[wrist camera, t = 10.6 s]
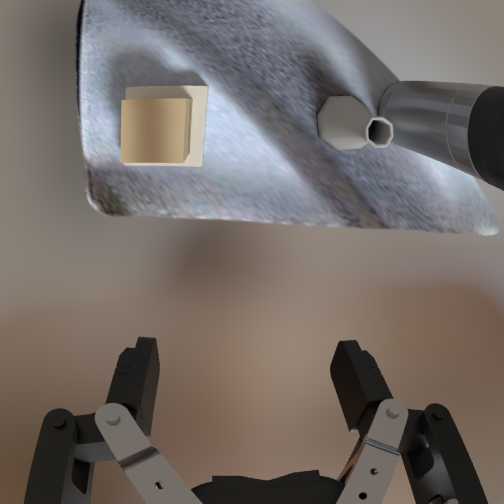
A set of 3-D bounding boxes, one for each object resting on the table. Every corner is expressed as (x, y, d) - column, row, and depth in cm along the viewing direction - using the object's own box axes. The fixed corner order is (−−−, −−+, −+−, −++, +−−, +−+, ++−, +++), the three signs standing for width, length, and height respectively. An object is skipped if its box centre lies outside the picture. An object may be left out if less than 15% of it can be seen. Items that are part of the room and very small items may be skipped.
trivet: (208, 87, 33) (207, 86, 30) (203, 161, 37) (202, 166, 34) (132, 87, 32) (125, 87, 29) (131, 160, 36) (123, 165, 33)
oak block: (192, 98, 30) (186, 98, 25) (189, 152, 33) (183, 163, 28) (138, 99, 30) (121, 99, 24) (136, 152, 33) (120, 162, 27)
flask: (322, 87, 34) (354, 85, 25) (375, 103, 35) (417, 109, 26) (310, 143, 37) (337, 158, 28) (362, 156, 38) (400, 176, 29)
